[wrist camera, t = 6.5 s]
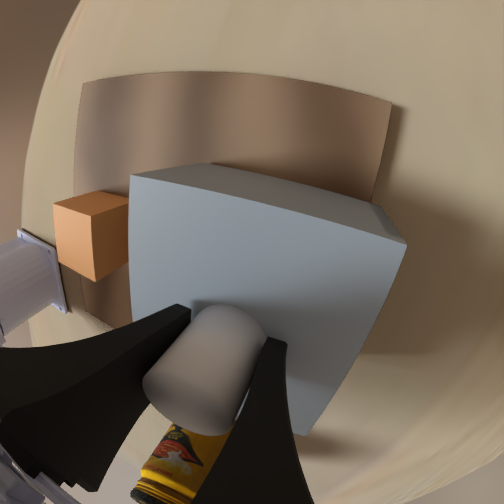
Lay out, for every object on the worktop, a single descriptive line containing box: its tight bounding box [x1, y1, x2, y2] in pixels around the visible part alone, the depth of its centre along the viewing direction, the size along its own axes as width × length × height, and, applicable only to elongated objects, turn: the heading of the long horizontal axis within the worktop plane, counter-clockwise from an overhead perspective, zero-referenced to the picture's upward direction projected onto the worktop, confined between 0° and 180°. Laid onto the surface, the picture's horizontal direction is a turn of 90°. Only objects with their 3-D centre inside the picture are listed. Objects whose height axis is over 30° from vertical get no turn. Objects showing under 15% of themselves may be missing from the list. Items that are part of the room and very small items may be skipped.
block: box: [53, 191, 129, 282], centre depth 15 cm, size 4×4×4 cm
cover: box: [128, 163, 408, 436], centre depth 11 cm, size 9×10×9 cm
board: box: [74, 72, 392, 329], centre depth 17 cm, size 20×20×1 cm
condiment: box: [130, 416, 238, 504], centre depth 18 cm, size 7×8×12 cm
